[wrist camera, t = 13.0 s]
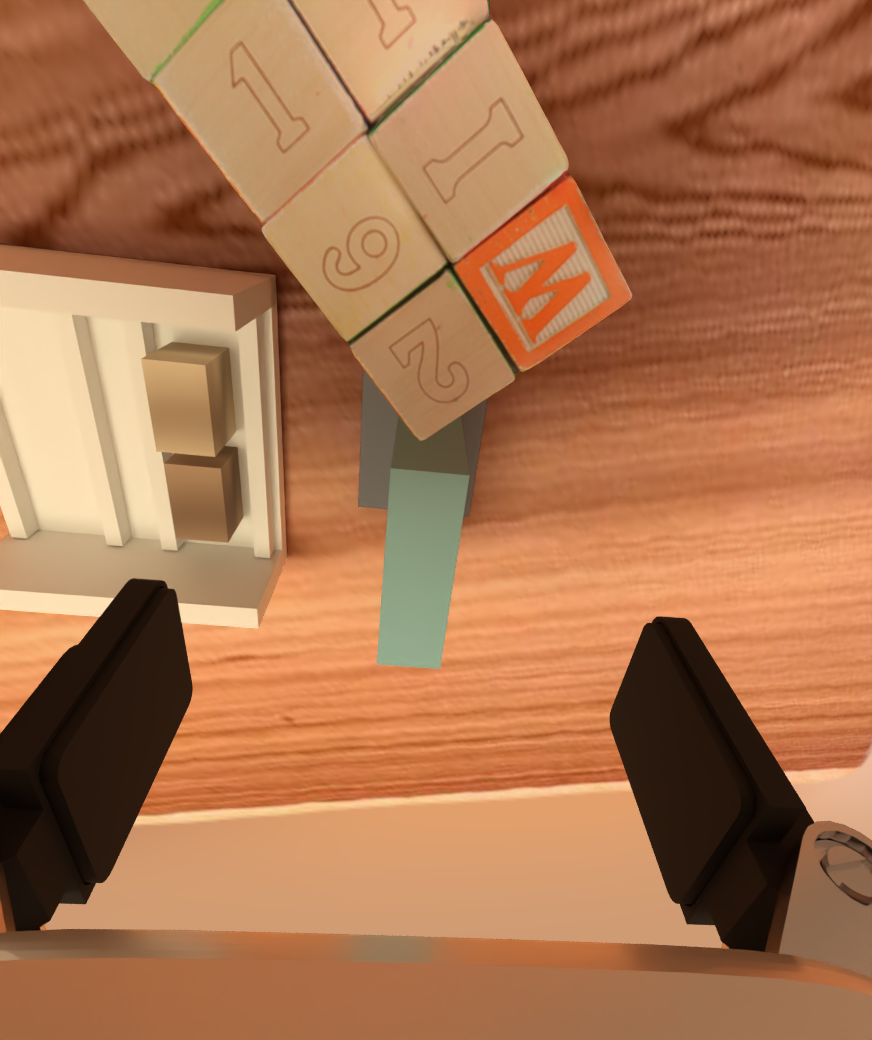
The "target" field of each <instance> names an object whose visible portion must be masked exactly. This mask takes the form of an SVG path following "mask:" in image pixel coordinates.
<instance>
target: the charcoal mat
mask: <svg viewBox="0 0 872 1040" xmlns="http://www.w3.org/2000/svg"><path fill="white" fill-rule="evenodd" d="M487 399H488V398H487ZM487 399H485V400H484V401H482V402H481V403H479V404H478V405H476V406H475V407H473V408H472V409H470V410H469V411H467V412H466V413H464V414H463V415H461V419H462V426H463V433H464V440H465V447H466V454H467V461H468V468H469V475H470V476H469V482H468V489H467V496H466V502H465V509H464V515H463V516H469V513H470V507H471V500H472V494H473V488H474V481H475V475H476V469H477V462H478V456H479V450H480V443H481V437H482V431H483V424H484V418H485V411H486V405H487ZM398 416H399V415H398V414H397V412H396V411H395V410H394V408H393V407H392V406H391V404H390V403H389V402H388V400H387V399H386V398H385V397H384V395H383V394H382V393H381V391H380V390H379V389H378V387H377V386H376V385H375V383H374V382H373V380H372V379H371V378H370V376H369V375H368V374H367V372H366V371H365V370H364V369H363V395H362V421H361V447H360V473H359V499H358V507H368V508H379V509H388V499H389V485H390V471H391V463H392V456H393V449H394V443H395V436H396V429H397V423H398Z"/></svg>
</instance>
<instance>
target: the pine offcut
mask: <svg viewBox="0 0 872 1040" xmlns="http://www.w3.org/2000/svg"><path fill="white" fill-rule="evenodd" d="M141 362H142V368H143V374H144V380H145V386H146V392H147V398H148V404H149V410H150V416H151V422H152V428H153V434H154V440H155V446H156V452H167V453H178V454H189V455H200V456H211V457H215V456H216V455H217V454H218V453H219V452H220V451H221V449H222V448H223V447H224V446H225V445H226V443H227V442H228V441H229V440H230V439H231V437H232V436H233V435H234V434H235V433H236V423H235V411H234V399H233V387H232V375H231V363H230V351H229V348H226V347H217V346H207V345H198V344H188V343H178V342H171V343H169V344H167V345H165V346H163V347H162V348H160V349H158V350H156V351H154V352H152V353H151V354H149V355H147V356H145V357H143V358H141Z"/></svg>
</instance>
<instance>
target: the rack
mask: <svg viewBox="0 0 872 1040" xmlns="http://www.w3.org/2000/svg"><path fill="white" fill-rule="evenodd" d="M171 342H178V343H188V344H198V345H207V346H217V347H226V348H229V351H230V363H231V375H232V387H233V399H234V411H235V423H236V433H235V434H234V435H233V436H232V437H231V439H230V440H229V441H228V442H227V443H226V445H225V446H231V447H238V458H239V470H240V482H241V494H242V506H243V519H242V520H241V522H240V524H239V525H238V527H237V529H236V531H235V532H234V534H233V536H232V537H231V539H230V541H229V542H228V543H226V542H214V541H202V540H189V539H177V538H176V535H175V529H174V523H173V517H172V510H171V504H170V498H169V492H168V485H167V479H166V473H165V467H164V463H165V462H166V461H167V460H168V459H169V458H170V457H171V456H172V455H173V454H174V453H167V452H156V446H155V440H154V434H153V428H152V422H151V416H150V410H149V404H148V398H147V392H146V386H145V380H144V374H143V368H142V362H141V358H143V357H145V356H147V355H149V354H151V353H152V352H154V351H156V350H158V349H160V348H162V347H163V346H165V345H167V344H169V343H171ZM0 506H1V509H2V512H3V515H4V518H5V521H6V524H7V527H8V529H9V532H10V534H8V535H7V536H6V537H5V538H3V539H2V540H1V541H0V609H1V610H15V611H28V612H42V613H56V614H69V615H83V616H97V617H100V616H101V615H102V613H103V612H104V611H105V610H106V608H107V607H108V606H109V604H110V603H111V602H112V601H113V599H114V598H115V597H116V595H117V594H118V593H119V592H120V590H121V589H122V588H123V586H124V585H125V584H126V583H127V582H128V581H129V580H130V579H132V578H137V579H151V580H162V581H165V582H166V584H167V587H168V588H170V589H174V590H175V591H176V594H177V599H178V605H179V611H180V617H181V622H182V623H192V624H206V625H219V626H233V627H247V628H259V626H260V623H261V621H262V618H263V616H264V614H265V611H266V609H267V606H268V604H269V601H270V599H271V596H272V594H273V591H274V589H275V586H276V584H277V581H278V579H279V576H280V574H281V571H282V569H283V566H284V564H285V561H286V559H287V546H286V520H285V495H284V470H283V444H282V419H281V394H280V368H279V343H278V318H277V292H276V275H272V274H263V273H254V272H245V271H236V270H227V269H218V268H209V267H200V266H191V265H183V264H174V263H165V262H156V261H147V260H138V259H129V258H120V257H111V256H102V255H94V254H85V253H76V252H67V251H58V250H49V249H40V248H31V247H22V246H13V245H5V244H0Z"/></svg>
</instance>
